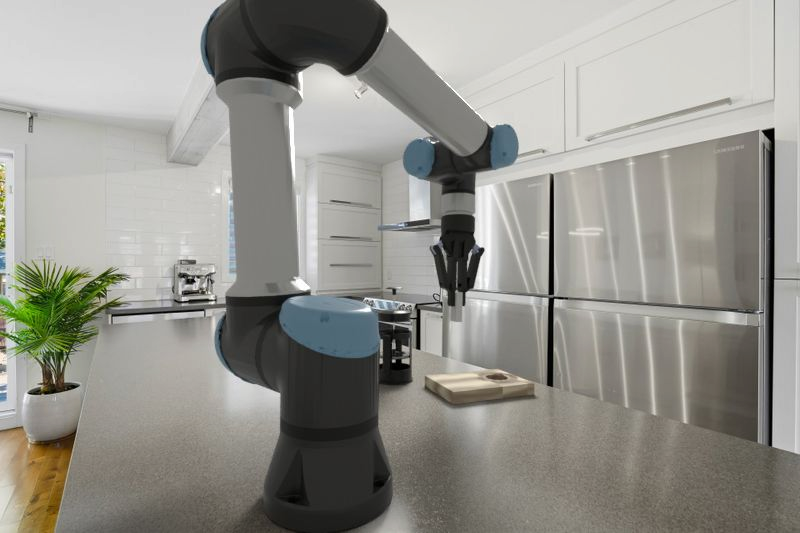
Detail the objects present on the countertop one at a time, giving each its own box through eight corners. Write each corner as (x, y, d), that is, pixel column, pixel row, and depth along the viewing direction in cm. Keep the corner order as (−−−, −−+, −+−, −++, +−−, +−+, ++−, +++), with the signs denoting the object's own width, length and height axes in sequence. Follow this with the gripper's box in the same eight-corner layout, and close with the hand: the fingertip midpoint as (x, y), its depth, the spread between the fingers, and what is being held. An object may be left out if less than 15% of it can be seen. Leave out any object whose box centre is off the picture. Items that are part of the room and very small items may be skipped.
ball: (511, 382, 95) (503, 371, 94) (501, 393, 94) (493, 382, 93) (503, 378, 98) (495, 367, 97) (493, 388, 97) (485, 378, 96)
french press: (382, 373, 109) (382, 285, 109) (417, 375, 106) (417, 286, 106) (366, 385, 97) (367, 287, 98) (405, 388, 95) (405, 288, 95)
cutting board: (534, 394, 90) (534, 383, 91) (453, 404, 83) (453, 391, 83) (497, 378, 104) (497, 368, 104) (424, 386, 97) (424, 375, 97)
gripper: (474, 219, 98) (473, 319, 97) (424, 215, 93) (422, 320, 93) (492, 215, 91) (490, 322, 90) (439, 210, 86) (436, 323, 86)
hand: (456, 321), depth 91 cm, fingers closed
